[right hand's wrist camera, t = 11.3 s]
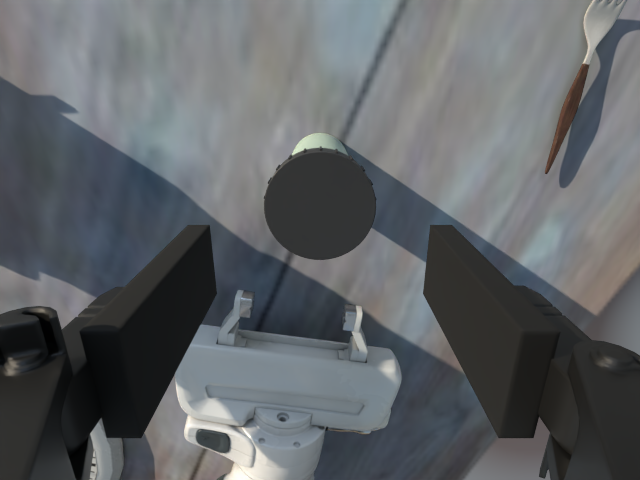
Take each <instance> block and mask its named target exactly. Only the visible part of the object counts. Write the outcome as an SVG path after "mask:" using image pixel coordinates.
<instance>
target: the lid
mask: <svg viewBox="0 0 640 480" xmlns="http://www.w3.org/2000/svg"><path fill="white" fill-rule="evenodd" d="M364 171H365V170H364V168H363V167H362V166H361V167H360V165H359V164H358V163H357V162H356V161H354V160H353V158H352V156H348V155H346V154H344V153H342V152H340V151H338V149H335V150H334V149H329V148H322V146H320V148H311V149H307V150H306V148H304V150H303V151H300V152H298V153H296V154H294V155H290V156H289V158H288V159H287V160H285V161H284V162H283V163H282V164H281V165H278V167H277V169H276V172H275V174H274V176H273V177H272V178H270V180H269V181H268V184H269V185H268V187H267V190H266V194H265V196H264V199H265V200H264V213H265V218H266V221H267V224H268V227H269V229H270V231H271V232H272V234H273V236H274V237H275V238H276V240H277V241H278V242H279V243H280V244H281V245H282V246H283V247H285V248H286V249H287V250H289V251H290V252H292V253H294V254H296V255H298V256H301V257H304V258H308V259H314V260H325V259H332V258H336V257H339V256H342V255H344V254H346V253H348V252H350V251H351V250H353V249H354V248H355V247H357V246H358V245H359V244H360V243H361V242H362V241H363V240H364V238H365V237H366V236H367V234H368V233H369V231H370V229H371V227H372V224H373V221H374V217H375V212H376V197H375V194H374V190H373V187H372V185H373V184H372V182H371V180H370V179H368V177H367V175H366V174H365V172H364Z"/></svg>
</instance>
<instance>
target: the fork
mask: <svg viewBox="0 0 640 480" xmlns="http://www.w3.org/2000/svg"><path fill="white" fill-rule="evenodd" d="M617 1H618V0H612V1H611V2H610V3H608V0H601V1H600V0H593V1H592V3H591V4H590V6H589V8H588V9H587V11H586V14H585V17H584V31H585V35H586V39H587V43H588V51H587V55H586V57H585V60H584V62H583V64H582V66H581V68H580V70H579V72H578V74H577V76H576V78H575V80H574V83H573V85H572V87H571V89H570V91H569V93H568V95H567V97H566V100H565V102H564V105H563V107H562V110H561V114H560V117H559V121H558V125H557V129H556V133H555V137H554V141H553V144H552V148H551V151H550V155H549V158H548V162H547V166H546V170H545V174H547V173H548V172H549V170H550V168H551V166H552V164H553V162H554V160H555V157H556V155H557V153H558V151H559V149H560V146H561V144H562V142H563V140H564V138H565V136H566V134H567V131H568V129H569V127H570V125H571V123H572V121H573V119H574V116H575V114H576V112H577V109H578V106H579V103H580V99H581V96H582V92H583V88H584V84H585V80H586V76H587V72H588V68H589V65H590V61H591V58H592V55H593V52H594V50H595V48H596V47H597V45H598V44H599V42H600V41H601V40H602V39H603V38H604V37H605V35H606V34H607V33H608V32H609V30H610V29H611V28H612V26H613V25H614V23H615V22H616V20H617V18H618V16H619V14H620V13H621V11H622V9H623V7H624V5H625V3H626V2H627V0H622V1H621V2H620V3H619V4H617Z"/></svg>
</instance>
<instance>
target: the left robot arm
mask: <svg viewBox="0 0 640 480" xmlns="http://www.w3.org/2000/svg"><path fill="white" fill-rule="evenodd" d="M254 297H255V292H252V291H245V290H238V291H237V294H236V296H235V301H234V308H233V309H232V310H231V312H230V313H229V314H228V315H227V316H226V318H225V319H224V321H223V323H222V325H221V327H218V326H210V325H203V324H201V325H200V327H199V329H198V331H197V332H196V334H195V336H194V338H193V340H192V342H191V344H190V346H189V348H188V350H187V352H186V353H185V355H184V357H183V359H182V361H181V363H180V365H179V367H178V369H177V371H176V373H175V382H176V390H177V396H178V400H179V403H180V406H181V407H182V409H183V410H184V411H185V412H186V413H187V414H188V417H187V421H186V425H185V430H184V436H185V438H186V440H187V441H189V442H190V443H193V444H195V445H198V446H201V447H203V448H206V449H209V450H211V451H214V452H216V453H218V454H221V455H223V456H225V457H227V458H229V459H230V460H232V461H234V465H233V468H232V471H231V473H230V474H224V475H222V476H221V477H219V478H218V479H217V480H314V471H315V469H316V468H317V465H318V462H319V459H320V455H321V450H322V445H323V440H324V435H325V431H326V430H329V431H338V432H347V431H348V432H356V433H358V434H371V431H376V430H379V429H381V428H385V427H386V426H387V424H388V421H389V418H390V414H391V409H392V408H391V407H392V405H393V402H394V400H395V398H396V396H397V393H398V390H399V388H400V385H401V381H402V375H401V369H400V366H399V363H398V360H397V358H396V356H395V355H394V353H393V352H392V350H390V349H388V348H382V347H374V346H367V344H366V339H365V336H364V333H363V331H362V329H361V321H362V308H361V306H356V305H349V304H345V305H344V312H343V314H342V323H343V325H342V328H343V330H346V331H352V334H353V336H351V337H350V341H349V343H343V342H335V341H327V340H319V339H311V338H304V337H296V336H288V335H280V334H272V333H265V332H257V331H249V330H241V329H239V322H238V320H239V319H240V317H246V318H250V317H251V313H252V310H253V306H254Z"/></svg>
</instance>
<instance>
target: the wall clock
mask: <svg viewBox="0 0 640 480" xmlns="http://www.w3.org/2000/svg"><path fill="white" fill-rule="evenodd" d="M90 435H91V439H92V442H93V449H94V452H93V459H92V466H91V473H90V480H120V476H121V473H122V470H123V466H124V455H123V442H122V438H106V434H105V430H104V426H103V422H102V418H101V419H100V420H99V422H98V423H97V425H96V426H95V428H94V429H93V431H92V432H91V433H90Z"/></svg>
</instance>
